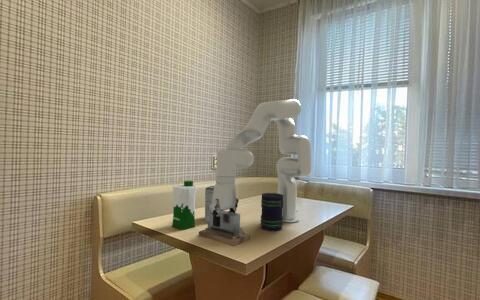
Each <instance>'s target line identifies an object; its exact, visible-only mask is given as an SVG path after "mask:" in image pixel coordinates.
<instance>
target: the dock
mask: <svg viewBox="0 0 480 300" xmlns="http://www.w3.org/2000/svg"><path fill="white" fill-rule="evenodd" d="M198 236H200V237H203V238H207V239H210V240H212V241H213V240H214V241H217V242H220V243H225V244H228V245H231V246H237V245H239V244H241V243H243V242H245V241H248V240H249V239H251V234H250V233H249V234H248V233H244V229H243V227H240V228H238V235H237V236H235V237H233V234H229V233H225V232H221V231H217V230H213V229H210V220H208V221H207V227H205V228H204V229H203V230H200V231H199V230H198Z"/></svg>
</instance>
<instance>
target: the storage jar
mask: <svg viewBox="0 0 480 300" xmlns="http://www.w3.org/2000/svg"><path fill="white" fill-rule="evenodd" d="M260 205H261V215H260V229H261V230H263V231H267V232H280V231H282V230H283V225H284V222H283V216H282V208H283V195H282V194H278V192H277V193H275V192H265V193H262V194H261V202H260Z"/></svg>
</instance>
